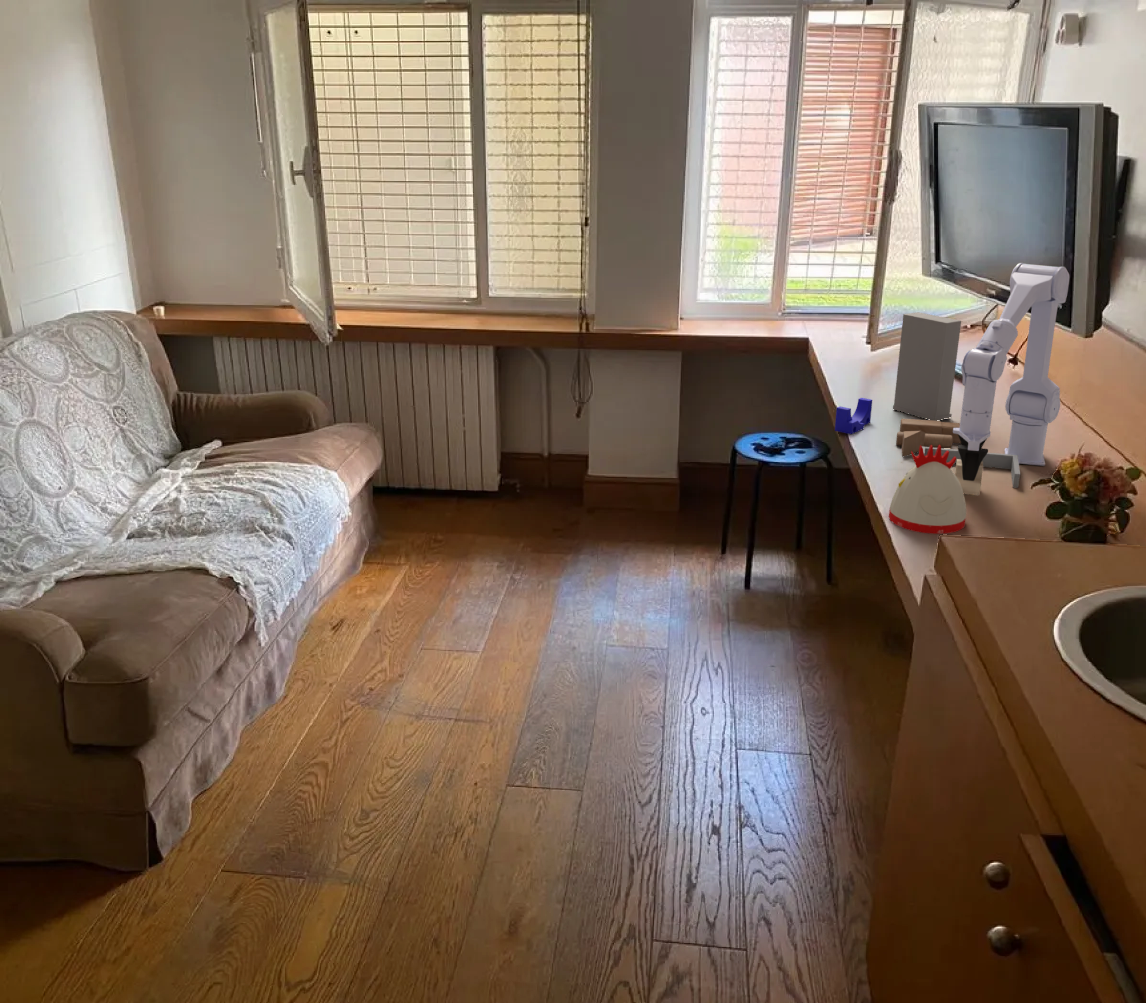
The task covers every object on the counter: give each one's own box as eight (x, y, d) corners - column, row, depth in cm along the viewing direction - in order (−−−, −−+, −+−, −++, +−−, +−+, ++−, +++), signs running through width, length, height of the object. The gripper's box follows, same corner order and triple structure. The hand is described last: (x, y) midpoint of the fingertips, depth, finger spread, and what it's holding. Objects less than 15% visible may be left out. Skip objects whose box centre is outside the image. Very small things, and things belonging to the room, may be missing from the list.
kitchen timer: (882, 505, 202) (890, 433, 197) (954, 507, 201) (963, 434, 196) (897, 533, 189) (905, 456, 184) (973, 535, 188) (984, 457, 183)
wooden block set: (897, 413, 244) (977, 418, 239) (894, 436, 246) (974, 441, 241) (899, 434, 228) (985, 439, 224) (896, 458, 230) (981, 464, 226)
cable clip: (851, 434, 246) (853, 410, 244) (834, 431, 249) (836, 407, 247) (875, 424, 254) (877, 400, 252) (859, 420, 257) (861, 397, 255)
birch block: (953, 486, 212) (956, 459, 210) (979, 489, 210) (982, 461, 208) (953, 492, 208) (956, 465, 206) (979, 495, 207) (983, 467, 205)
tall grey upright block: (951, 419, 257) (964, 320, 248) (934, 423, 254) (946, 323, 245) (909, 406, 268) (919, 311, 259) (892, 410, 265) (902, 314, 256)
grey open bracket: (919, 459, 228) (920, 446, 227) (1015, 468, 222) (1017, 455, 221) (916, 477, 217) (917, 464, 216) (1017, 487, 210) (1020, 474, 209)
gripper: (956, 398, 211) (948, 460, 216) (955, 417, 198) (947, 483, 203) (993, 401, 208) (984, 464, 213) (994, 420, 196) (985, 487, 201)
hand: (968, 473), depth 208 cm, fingers open, 7 cm apart
